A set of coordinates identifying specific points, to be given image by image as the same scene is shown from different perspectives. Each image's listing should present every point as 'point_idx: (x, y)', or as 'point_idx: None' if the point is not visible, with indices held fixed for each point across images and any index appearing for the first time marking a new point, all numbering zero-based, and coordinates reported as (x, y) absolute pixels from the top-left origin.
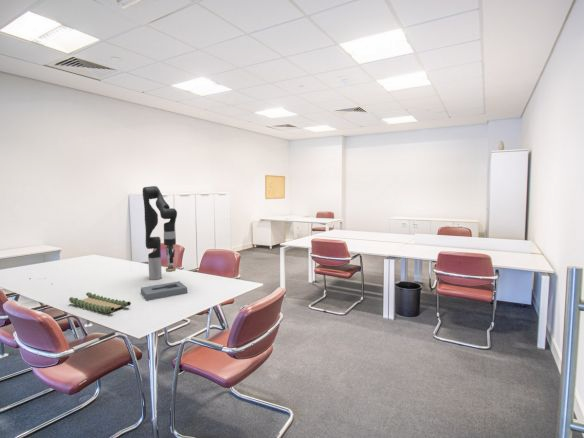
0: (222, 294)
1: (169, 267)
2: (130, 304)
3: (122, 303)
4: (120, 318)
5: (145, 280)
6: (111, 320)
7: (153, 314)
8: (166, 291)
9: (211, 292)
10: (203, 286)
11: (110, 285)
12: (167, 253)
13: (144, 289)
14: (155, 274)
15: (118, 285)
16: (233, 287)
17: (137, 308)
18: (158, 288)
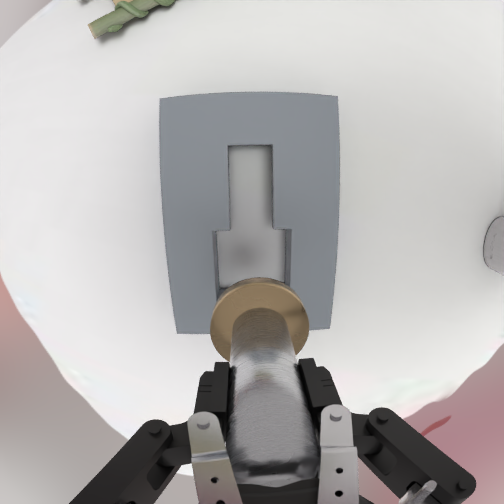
0: (109, 401)
1: (238, 326)
2: (94, 38)
3: (115, 7)
4: (42, 33)
5: (498, 197)
6: (47, 13)
7: (10, 134)
8: (164, 216)
9: (145, 389)
10: None
11: (491, 65)
12: (319, 452)
13: (278, 103)
14: (501, 244)
15: (484, 83)
16: None
17: (89, 70)
18: (272, 189)
